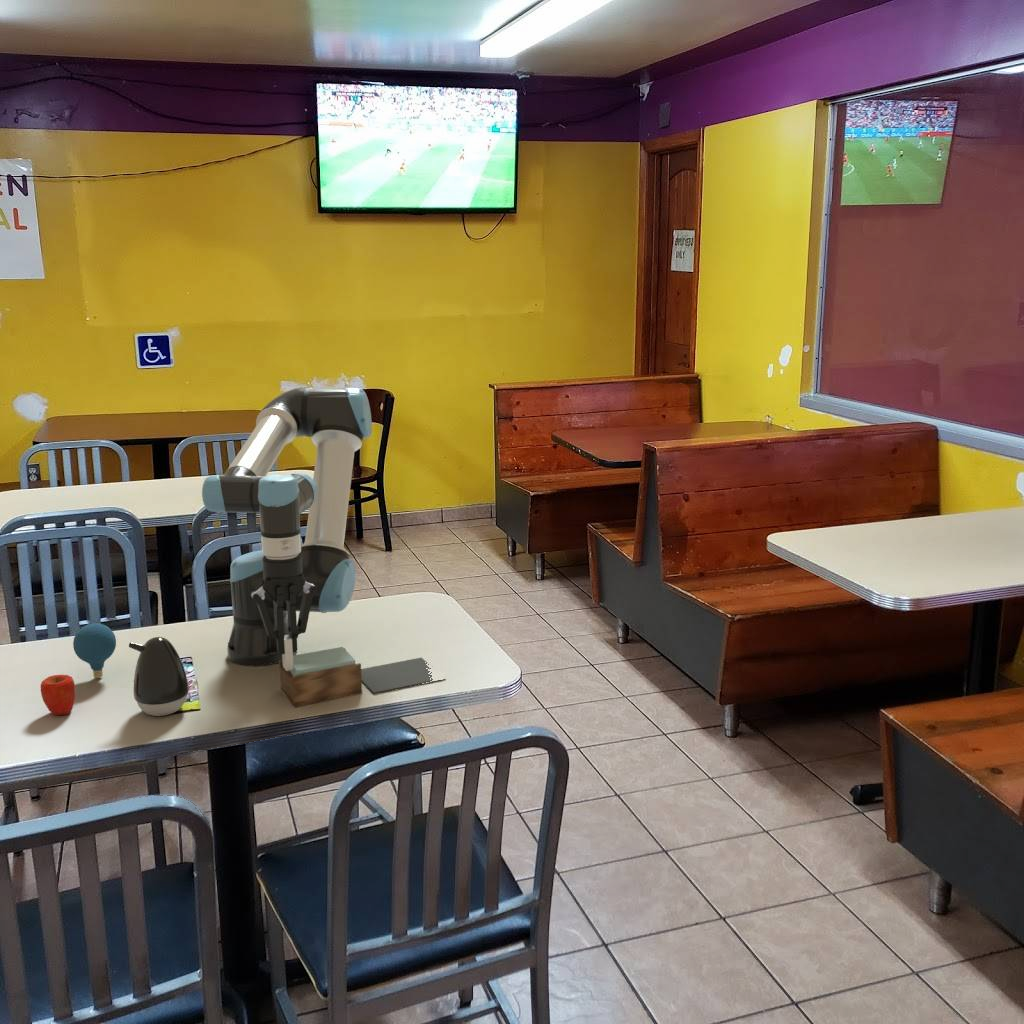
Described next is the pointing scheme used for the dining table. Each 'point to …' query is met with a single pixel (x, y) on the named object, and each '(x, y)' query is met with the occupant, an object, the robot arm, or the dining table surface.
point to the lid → (321, 660)
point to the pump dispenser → (159, 677)
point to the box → (321, 684)
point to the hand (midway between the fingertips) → (288, 667)
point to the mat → (395, 675)
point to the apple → (58, 694)
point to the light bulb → (94, 646)
